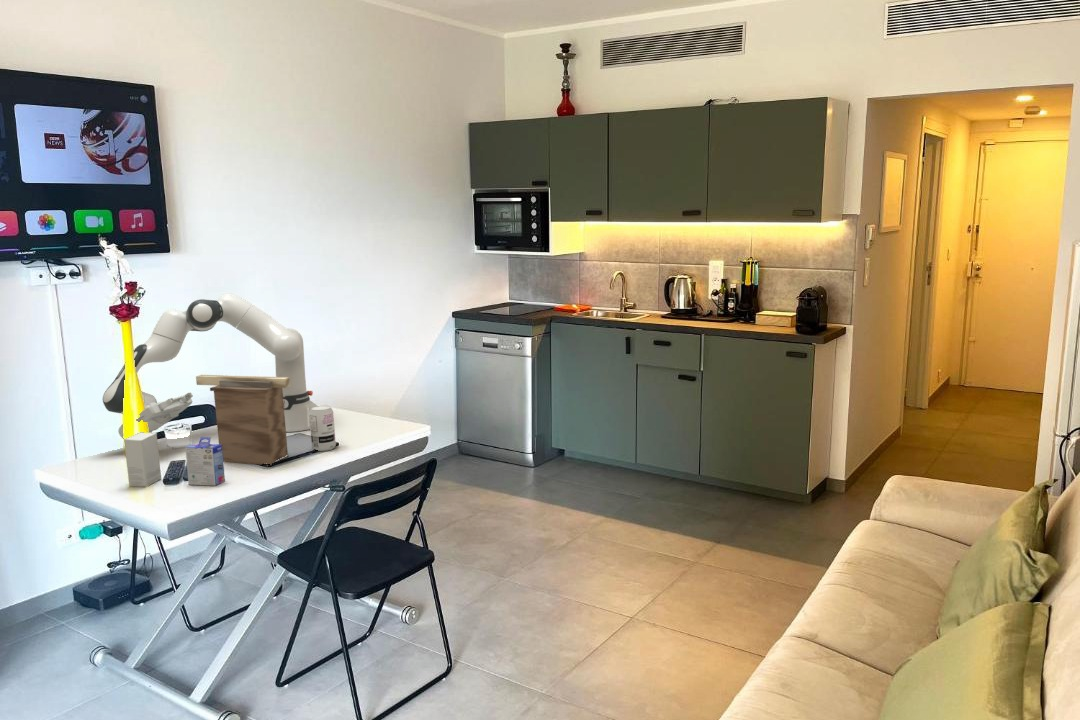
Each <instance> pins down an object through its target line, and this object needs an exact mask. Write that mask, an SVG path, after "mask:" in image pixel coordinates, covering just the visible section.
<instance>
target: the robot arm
mask: <svg viewBox="0 0 1080 720" xmlns="http://www.w3.org/2000/svg"><path fill="white" fill-rule="evenodd" d="M217 322H224V323H226V324H228V325H230V326H232V327H233V328H234V329H236V330H238V331H239V332H241V333H242V334H244V335H246V336H247V337H248V338H251V340H254V341H255V342H256V343H257V344H259V345H260V346H261V347H263V348H264V349H265V350H266V351H268V352H270V353H271V354H272V355H273V356H274V359H275V360H274V361H275V363H274V364H275V377H289V378H290V386H289V387H286V388H282V391H283V403H284V415H285V427H286V433H288V432H290V433H291V432H301V431H306V430H307V431H308V430H311V428H310V415H309V413H310V410H311V408H312V407H316V406H318V405H317V404H316V403H314V402H313V401H312V400H311V398H310V397H311V396H313V395H314V392H313V390H307V384H306V383H307V382H306V381H307V380H306V368H305V366H306V364H305V349H304V338H303V336H302V334H301V333H300V332H299V331H298V330H296V329H294V328H290V327H289V328H287V327H285V326H284V325H282V324H281V323H279V322H278V320H277V319H275V318H273V317H272V316H271V315H269V314H268V313H266V312H265V311H263V310H262V309H260V308H258V307H257V306H255V305H254V304H252V303H251V302H249V301H248V300H246V299H244V298H242V297H240V296H238V295H235V294H232V293H225V294H223V295H221V296H220V297H219V298H218V299H216V300H213V299H212V300H211V299H203V298H202V299H197V300H193V302H191V303H190V304H189V305H188V307H187V308H186V310H184V311H181V310H177V309H167V310H166V311H164V312H163V313H162V315H161V316H160V317H159V320H157V323H156V324H155V327H154V328H153V331H152V332H151V335H150V337H148V340H147V341H145V342H144V343H143V344H139V345H137V346H136V347H135V348H134V349H133V351H134V360H135V367H136V372H137V373H139V370H141V368H142V367H143V366H144V365H146V364H150V363H165V362H169V361H172V360H173V359H175V358H176V357H177V356H178V354H179V353H180V351H181V348H182V347H183V344H184V341H185V339H186V336H187V335H188V333H189V332H190V331H191V332H208V331H210V330H212V329H213V328H214V327H215V326H216V325H217ZM124 380H125V363H124V364H123V366H122V368H120V371H119V372H118V374H117V376H116V377H115V379H114V380H113V382H111V384H110V385H109V386H108V387H107V388H106V389H105V392H104V393H103V395H102V403H103V406H104V407H105V409H106V411H108V412H111V413H115V414H121V415H124V414H123V398H124ZM140 391H141V390H140ZM141 392H142V396H143V400H144V406H145V409H144V410H143V411H142V412H141V413H140V414H139V415H140V417H139V418H138V419H136V421H138V422H140V421H141V420H143V422H148V427H149V433H153V432H154V431H157V430H159V429H160V428H161V427H163V426H164V425H166V424H168V422H170V421H172V420H173V419H176V418H178V417H179V415H180V413H182V412H184V410H186V409H187V408H189V407H190V406H191V405H192V404H193V400H192V397H193V396H194V395H193V394H192V393H193V392H187V393H185V394H183V395H181V396H177V397H176V396H175V397H174V398H173V397H171V398H168V399H167V400H165V401H160V402H159V401H157V398H156V397H155V395H153V394H150V393H148V392H144V391H141ZM118 434H119V436H120V437H121V439H123V440H124V438H123V423H122V424H121V425H120V426H119V428H118Z"/></svg>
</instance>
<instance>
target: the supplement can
mask: <svg viewBox="0 0 1080 720" xmlns="http://www.w3.org/2000/svg"><path fill="white" fill-rule="evenodd" d="M309 415H310V428H311V429H310V439H311V448H312V449H313V450H314V449H316V450H318V451H317V452H327V451H331V450H333V449H334V448H336V445H337V442H336V432H335V430H336V429H335V417H334V410H333V408H332V406H331V405H317V406H316V407H312V408H311V410H310V413H309Z"/></svg>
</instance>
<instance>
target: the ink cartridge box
mask: <svg viewBox="0 0 1080 720" xmlns="http://www.w3.org/2000/svg"><path fill="white" fill-rule="evenodd" d="M211 438H212V437H209V436H207V437H206V436H201V437H200V438H199V442H198V443H194V444H191V445H188V446H186V447H185V457H186V468H187V469H186V470H187V482H188V485H191V486H193V485H194V486H195V485H197V486H217V485H219V484H221V483H224V482H226V476H225V467H224V462H223V453H222V444H219V443H211ZM203 440H204V441H203ZM205 440H206V441H205Z"/></svg>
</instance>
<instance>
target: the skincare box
mask: <svg viewBox="0 0 1080 720" xmlns="http://www.w3.org/2000/svg"><path fill="white" fill-rule="evenodd" d="M123 441H124V451H125V460H126V468H127V470H126V471H127V478H128V485H129V487H134V488H135V487H137V488H138V487H140V488H142V487H143V488H147V487H149V486H150V485H153V484H155V483H156V482H159V481H161V480H162V471H161V463H160V453H159V445H158V444H159V443H158V433H157V432H152V433H144V432H140V433H137V434H135V435H133V436H131V437H128V438H126V439H123Z"/></svg>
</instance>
